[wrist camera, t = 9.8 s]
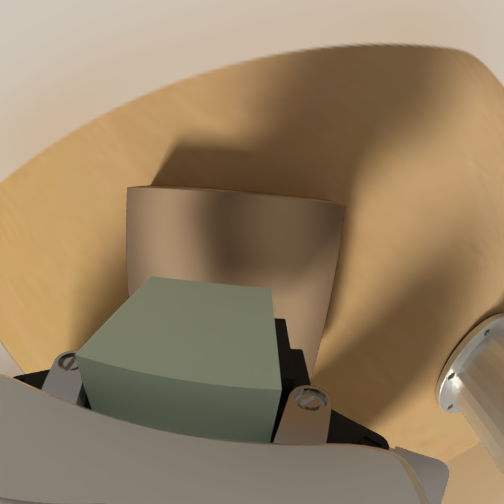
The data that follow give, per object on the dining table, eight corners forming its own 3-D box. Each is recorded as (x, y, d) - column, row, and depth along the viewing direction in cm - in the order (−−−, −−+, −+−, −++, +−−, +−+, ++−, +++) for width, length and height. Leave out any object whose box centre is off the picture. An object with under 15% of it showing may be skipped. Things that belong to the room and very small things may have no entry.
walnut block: (328, 200, 18) (345, 205, 15) (302, 354, 21) (308, 386, 17) (152, 185, 18) (127, 187, 15) (153, 338, 21) (136, 365, 18)
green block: (270, 288, 11) (281, 389, 6) (258, 383, 13) (258, 488, 7) (151, 275, 11) (74, 354, 6) (157, 369, 13) (114, 462, 7)
